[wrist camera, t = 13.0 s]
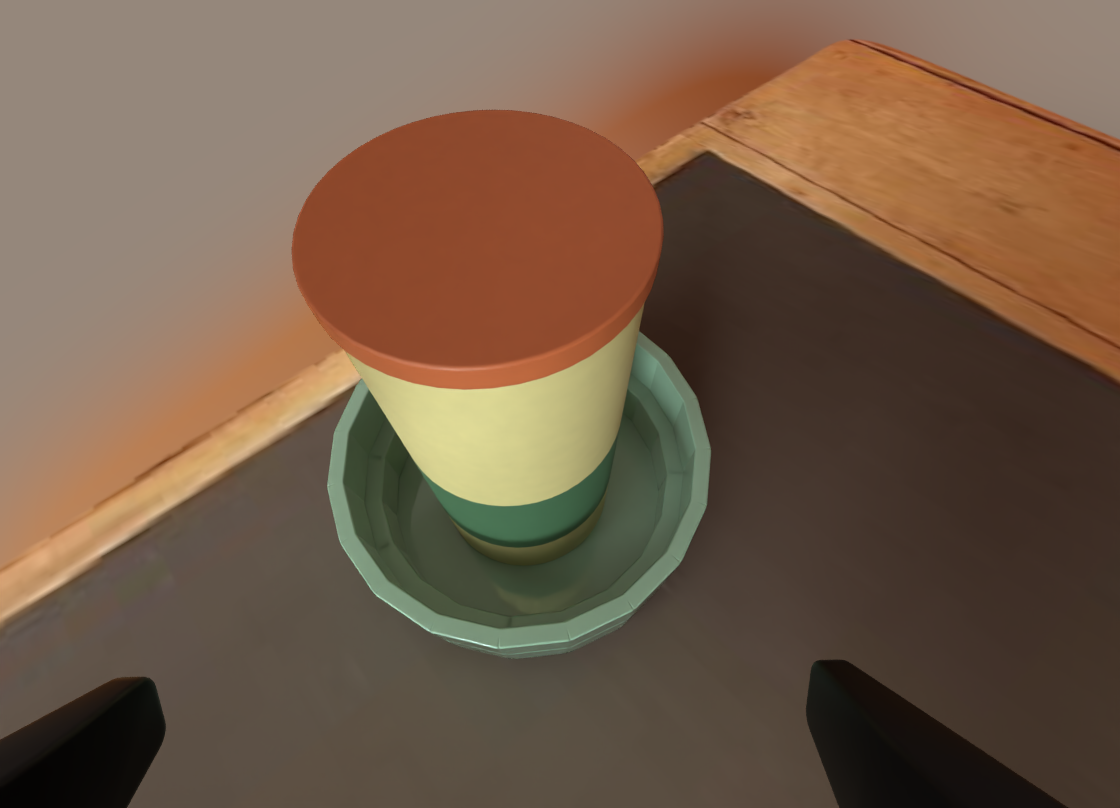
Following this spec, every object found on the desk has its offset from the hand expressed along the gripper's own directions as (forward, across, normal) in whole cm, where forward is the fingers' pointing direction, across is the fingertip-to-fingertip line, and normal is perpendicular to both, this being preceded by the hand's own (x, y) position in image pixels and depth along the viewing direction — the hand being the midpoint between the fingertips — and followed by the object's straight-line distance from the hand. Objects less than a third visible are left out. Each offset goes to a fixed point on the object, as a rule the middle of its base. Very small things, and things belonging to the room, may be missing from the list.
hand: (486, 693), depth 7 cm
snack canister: (+12, 0, +2) cm, 13 cm away
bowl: (+13, 0, +3) cm, 13 cm away
